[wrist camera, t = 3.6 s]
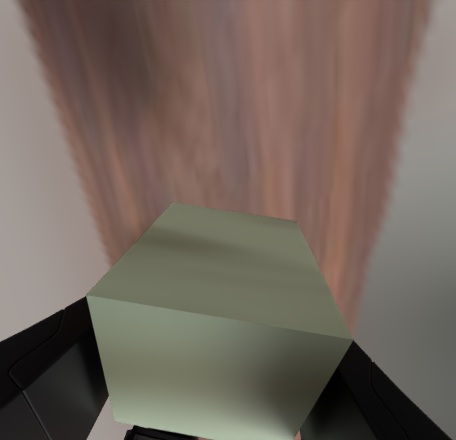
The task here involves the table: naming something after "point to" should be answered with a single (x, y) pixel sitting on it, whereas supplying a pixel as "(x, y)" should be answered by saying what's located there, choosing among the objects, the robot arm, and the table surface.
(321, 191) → the table surface
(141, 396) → the green cube
